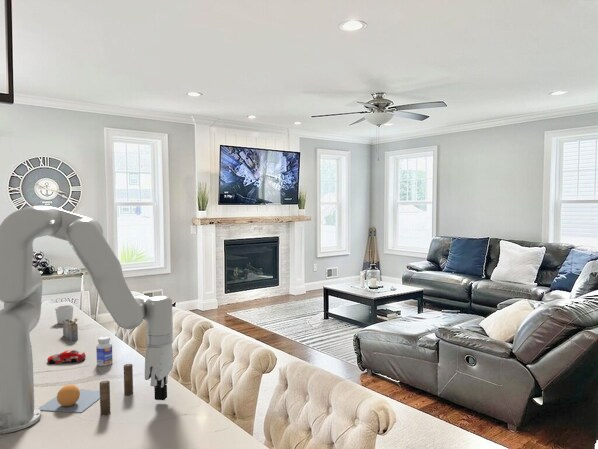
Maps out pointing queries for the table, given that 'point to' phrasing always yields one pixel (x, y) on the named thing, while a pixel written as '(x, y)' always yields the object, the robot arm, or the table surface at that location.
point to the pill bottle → (104, 351)
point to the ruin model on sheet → (70, 329)
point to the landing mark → (81, 405)
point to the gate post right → (128, 379)
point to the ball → (68, 395)
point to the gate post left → (104, 398)
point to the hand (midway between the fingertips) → (160, 398)
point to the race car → (67, 357)
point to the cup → (64, 313)
